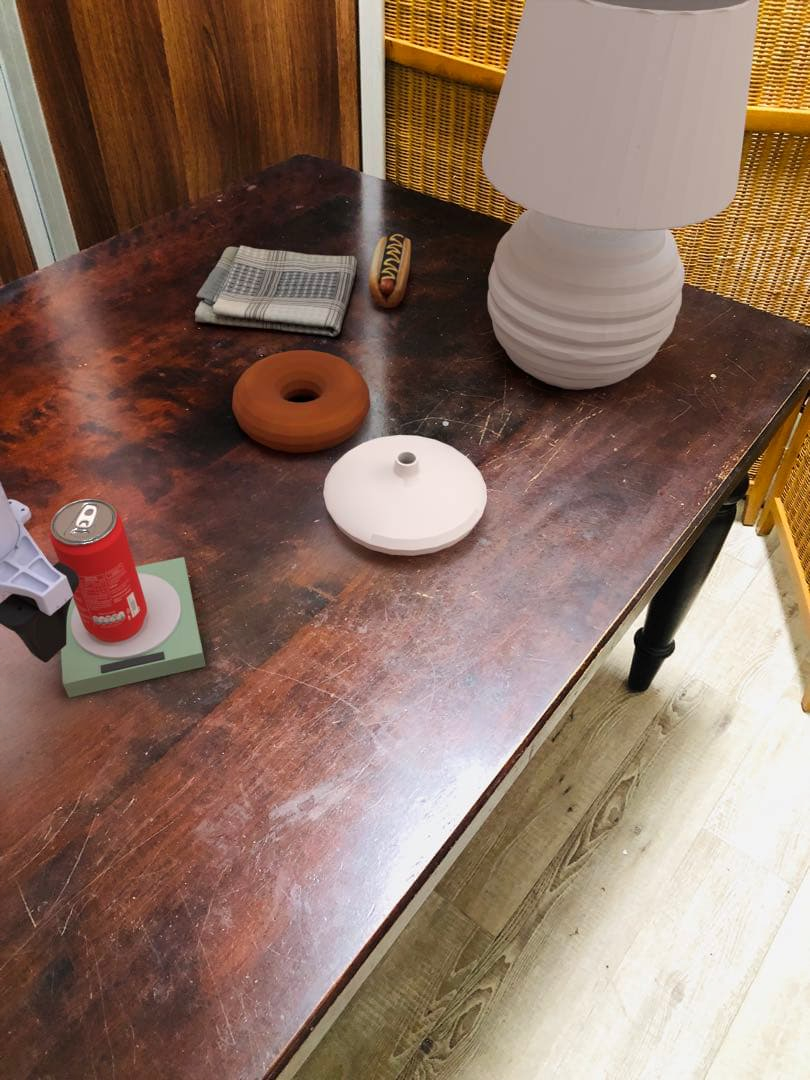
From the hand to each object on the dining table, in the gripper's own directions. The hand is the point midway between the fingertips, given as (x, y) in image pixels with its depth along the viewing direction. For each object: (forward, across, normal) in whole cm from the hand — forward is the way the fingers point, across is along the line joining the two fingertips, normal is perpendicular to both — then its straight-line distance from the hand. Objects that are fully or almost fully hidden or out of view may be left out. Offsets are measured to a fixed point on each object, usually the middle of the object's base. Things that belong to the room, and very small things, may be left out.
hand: (14, 627), depth 63 cm
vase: (+11, -12, -34) cm, 38 cm away
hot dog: (+11, +11, -69) cm, 70 cm away
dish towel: (+11, +22, -59) cm, 64 cm away
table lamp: (+11, -16, -67) cm, 69 cm away
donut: (+11, +4, -41) cm, 42 cm away
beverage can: (+8, 0, -8) cm, 11 cm away
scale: (+10, 0, -9) cm, 14 cm away
